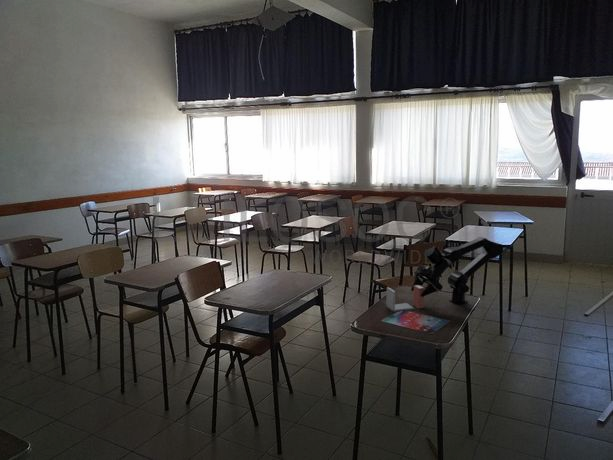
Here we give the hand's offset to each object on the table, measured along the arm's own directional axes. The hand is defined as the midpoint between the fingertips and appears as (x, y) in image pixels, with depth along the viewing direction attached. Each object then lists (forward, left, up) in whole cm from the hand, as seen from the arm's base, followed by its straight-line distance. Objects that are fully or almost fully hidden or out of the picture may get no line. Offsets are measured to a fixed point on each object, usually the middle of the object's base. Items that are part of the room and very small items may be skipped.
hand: (416, 293), depth 231 cm
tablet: (+15, +13, -7) cm, 21 cm away
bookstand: (+8, -3, -7) cm, 11 cm away
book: (-1, 0, -7) cm, 7 cm away
